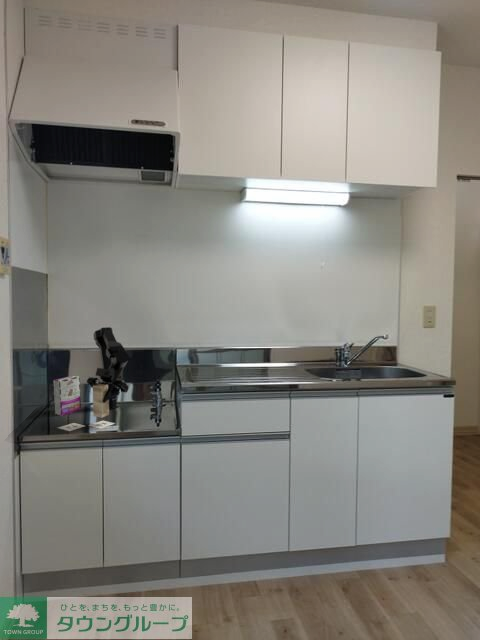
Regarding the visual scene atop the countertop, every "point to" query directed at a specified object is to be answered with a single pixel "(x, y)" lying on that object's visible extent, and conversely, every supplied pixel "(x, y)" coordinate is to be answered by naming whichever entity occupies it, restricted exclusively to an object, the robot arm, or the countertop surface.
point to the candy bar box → (67, 395)
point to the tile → (71, 426)
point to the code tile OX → (101, 424)
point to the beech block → (100, 401)
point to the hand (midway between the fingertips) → (98, 401)
